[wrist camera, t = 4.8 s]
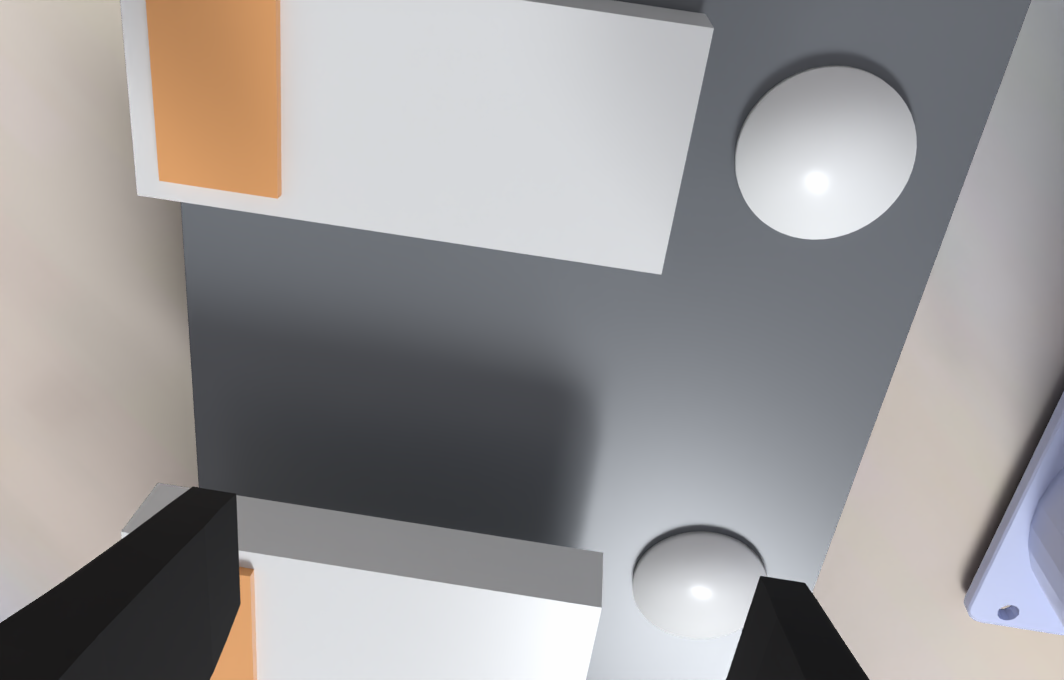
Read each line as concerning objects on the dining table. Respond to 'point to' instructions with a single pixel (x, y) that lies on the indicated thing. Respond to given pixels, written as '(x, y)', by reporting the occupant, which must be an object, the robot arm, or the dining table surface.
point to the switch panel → (625, 333)
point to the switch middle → (424, 117)
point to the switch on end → (399, 599)
